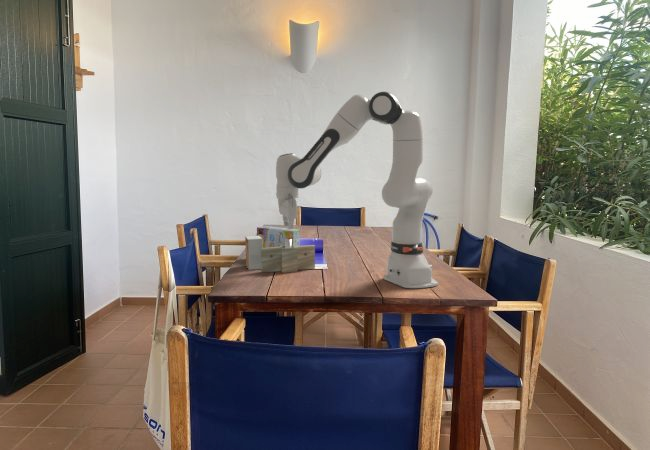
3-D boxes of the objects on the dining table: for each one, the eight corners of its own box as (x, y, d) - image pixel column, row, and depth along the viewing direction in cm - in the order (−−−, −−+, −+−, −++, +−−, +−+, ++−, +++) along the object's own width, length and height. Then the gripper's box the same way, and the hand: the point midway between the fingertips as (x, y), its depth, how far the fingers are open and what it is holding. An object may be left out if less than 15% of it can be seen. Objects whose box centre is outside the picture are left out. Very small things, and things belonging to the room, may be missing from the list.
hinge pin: (292, 270, 199) (292, 240, 197) (285, 271, 198) (285, 240, 196) (291, 269, 202) (290, 238, 200) (284, 269, 201) (284, 239, 199)
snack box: (300, 262, 214) (300, 229, 212) (293, 264, 210) (292, 230, 207) (264, 256, 226) (263, 225, 224) (256, 259, 221) (255, 226, 219)
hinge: (316, 270, 200) (316, 246, 198) (262, 273, 194) (262, 249, 192) (312, 266, 206) (312, 243, 204) (260, 270, 200) (260, 246, 198)
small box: (245, 265, 208) (245, 236, 206) (260, 264, 210) (259, 235, 208) (248, 270, 200) (247, 239, 198) (263, 269, 202) (262, 238, 200)
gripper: (300, 195, 186) (301, 230, 188) (290, 192, 205) (291, 223, 207) (284, 196, 184) (285, 231, 186) (275, 192, 204) (276, 224, 206)
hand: (288, 227), depth 197 cm, fingers open, 8 cm apart
